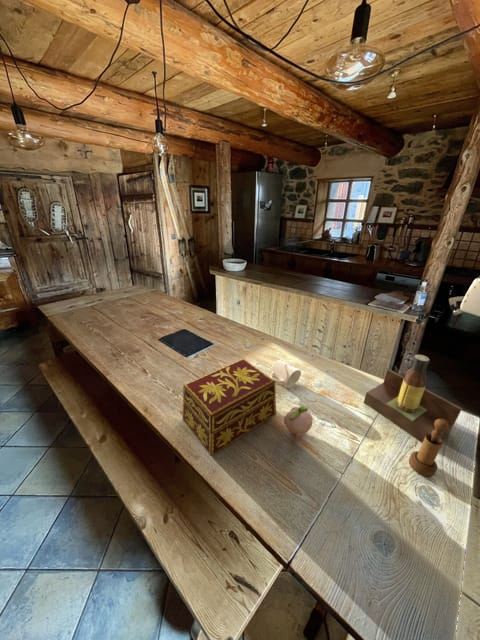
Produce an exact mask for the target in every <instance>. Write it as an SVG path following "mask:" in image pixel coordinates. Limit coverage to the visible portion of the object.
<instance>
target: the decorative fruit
mask: <svg viewBox="0 0 480 640" xmlns="http://www.w3.org/2000/svg"><path fill="white" fill-rule="evenodd" d="M283 419H284V420H283V421H284V425H285V428H286V429H287V430H288V431H289V432H290V433H291V434H293V435H305V434H307V433H308V432H309V431H310V430H311V428H312V426H313V416H312V414H311V412H310V411H309V407H308V406H307V405H295V406H293V407H292V408H290V411H288V412H287V413H286V414H285V416H284V418H283Z"/></svg>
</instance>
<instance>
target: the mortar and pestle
mask: <svg viewBox="0 0 480 640" xmlns="http://www.w3.org/2000/svg"><path fill="white" fill-rule="evenodd" d="M434 425H435V430H433V431H432V434H427V435H426V436H425V439H424V441H423V443H422V442H421V446H420V448H419V449H418V450H417V451H413V452H412V453H411V454H410V456H409V457H408V463H409V466H410V468H412V470H413V471H414V472H415V473H417V474H418V475H420V476H422V477H424V478H432V477H434V476H435V475H436V472H437V471H438V464H437V461H436V458H437V456H438V454H439V453H440V450H441V448H442V446H443V444H444V442H443V440H441V439H440V438H441V437H442V434H441V433H442V432H444V431H446V430H447V429H448V427H449V425H448V423H447V422H446V421H445V420H443V419H437V420H436V421H435V422H434Z"/></svg>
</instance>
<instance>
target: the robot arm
mask: <svg viewBox="0 0 480 640" xmlns="http://www.w3.org/2000/svg"><path fill="white" fill-rule="evenodd" d="M448 302H449V308H450V310H451V311H452V315H453V317H452V319H451V322H450V324H451V326H450V328H452V329H454V328H457V327H458V326H459V325H460V322H461V320H462V317H463V313H467V314H470V315H474V316H477V317H480V276H478V277H477V278H475V279H474V280H473V281H472V283H471V285H470V286H469V288H468V290H467V292H466V293H465V295H461V296H454V297H450V298H448ZM457 302H461V303H460V305H459V306H460V308H459V306H458V304H457Z"/></svg>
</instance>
